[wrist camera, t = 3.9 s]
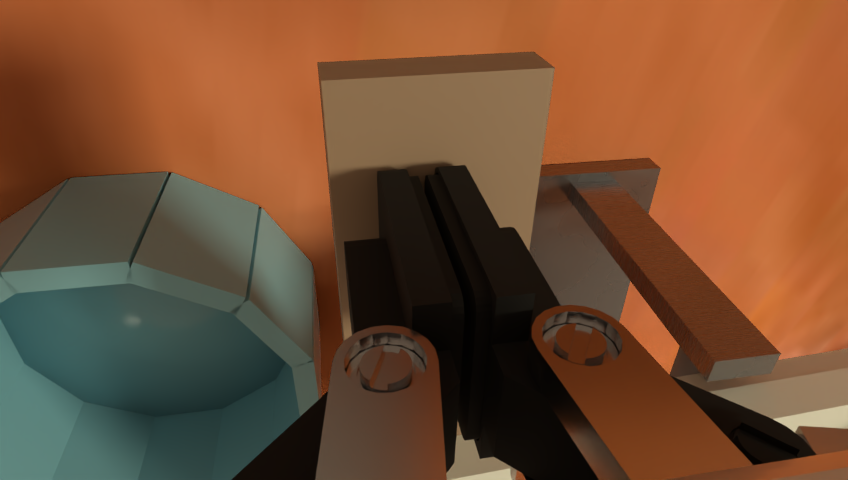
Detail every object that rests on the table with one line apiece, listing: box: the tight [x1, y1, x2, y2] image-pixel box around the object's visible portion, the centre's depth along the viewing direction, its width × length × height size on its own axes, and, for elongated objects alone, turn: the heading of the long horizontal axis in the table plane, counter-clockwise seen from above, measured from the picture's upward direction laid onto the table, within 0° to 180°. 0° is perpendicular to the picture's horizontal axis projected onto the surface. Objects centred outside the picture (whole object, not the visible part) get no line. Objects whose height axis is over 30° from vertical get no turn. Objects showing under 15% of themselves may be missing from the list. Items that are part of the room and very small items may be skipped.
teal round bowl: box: [0, 172, 322, 480], centre depth 23 cm, size 14×14×6 cm
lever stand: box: [529, 158, 781, 382], centre depth 24 cm, size 6×12×12 cm, turn 0°
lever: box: [317, 52, 848, 480], centre depth 17 cm, size 22×18×3 cm
